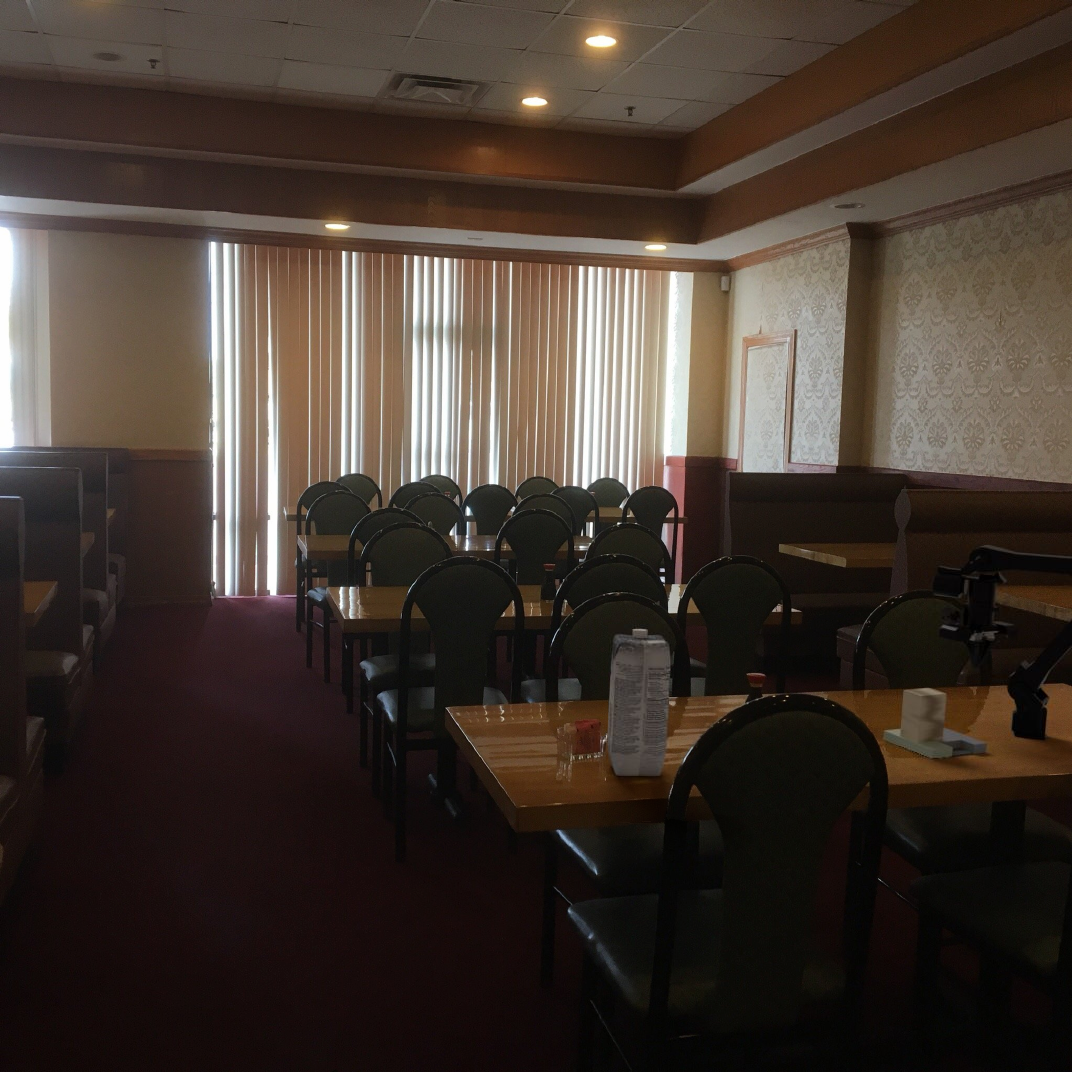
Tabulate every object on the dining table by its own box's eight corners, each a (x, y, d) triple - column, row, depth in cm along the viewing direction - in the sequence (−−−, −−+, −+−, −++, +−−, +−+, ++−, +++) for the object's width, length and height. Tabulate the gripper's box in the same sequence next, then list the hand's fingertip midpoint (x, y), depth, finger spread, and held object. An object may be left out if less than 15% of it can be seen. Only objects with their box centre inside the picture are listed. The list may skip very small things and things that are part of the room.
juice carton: (667, 778, 203) (674, 636, 200) (611, 778, 202) (618, 635, 199) (658, 763, 212) (665, 627, 209) (604, 762, 211) (611, 625, 208)
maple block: (925, 733, 233) (928, 687, 232) (942, 740, 229) (946, 693, 228) (900, 736, 230) (903, 690, 229) (917, 743, 226) (921, 696, 225)
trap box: (936, 733, 241) (936, 724, 240) (986, 752, 228) (986, 743, 228) (883, 739, 234) (884, 730, 234) (931, 759, 222) (932, 749, 222)
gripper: (983, 593, 258) (978, 658, 260) (923, 596, 250) (918, 662, 252) (1022, 601, 248) (1016, 669, 250) (961, 604, 240) (955, 674, 242)
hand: (975, 668), depth 248 cm, fingers closed
